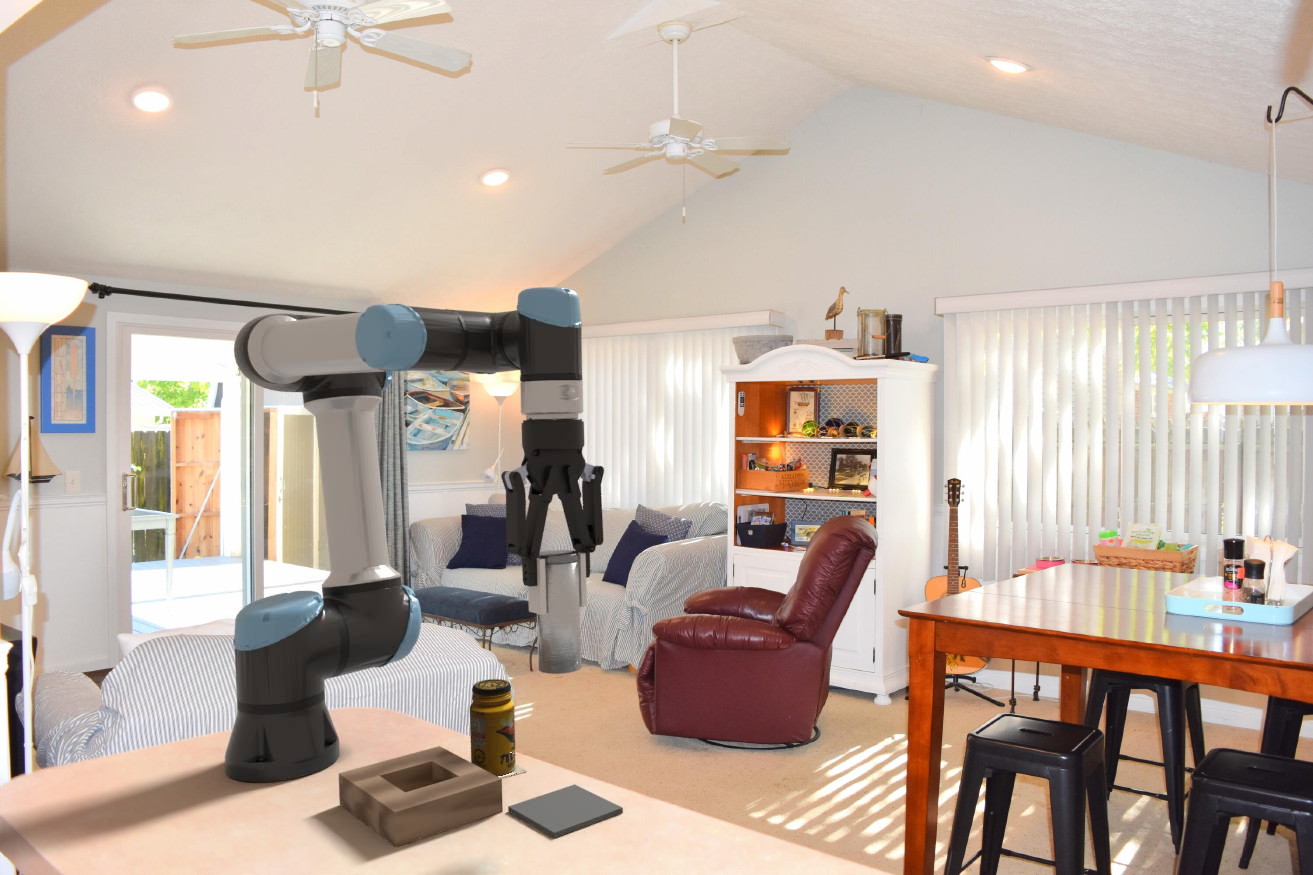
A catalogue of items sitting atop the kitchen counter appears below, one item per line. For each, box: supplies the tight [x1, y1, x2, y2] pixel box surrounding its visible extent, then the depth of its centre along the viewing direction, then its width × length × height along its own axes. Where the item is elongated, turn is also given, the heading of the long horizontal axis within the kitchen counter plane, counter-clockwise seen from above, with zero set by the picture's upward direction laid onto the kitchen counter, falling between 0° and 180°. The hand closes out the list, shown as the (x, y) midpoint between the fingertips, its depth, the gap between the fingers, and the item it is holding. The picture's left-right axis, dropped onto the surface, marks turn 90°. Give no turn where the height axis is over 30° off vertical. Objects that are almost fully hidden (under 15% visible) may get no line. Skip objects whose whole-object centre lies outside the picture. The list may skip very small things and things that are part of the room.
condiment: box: [469, 678, 527, 777], centre depth 130 cm, size 7×8×12 cm
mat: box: [507, 784, 624, 839], centre depth 116 cm, size 10×10×1 cm
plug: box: [536, 549, 582, 675], centre depth 115 cm, size 5×5×14 cm
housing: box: [338, 745, 504, 848], centre depth 118 cm, size 16×14×4 cm
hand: (558, 608), depth 115 cm, fingers closed on plug, 5 cm apart
